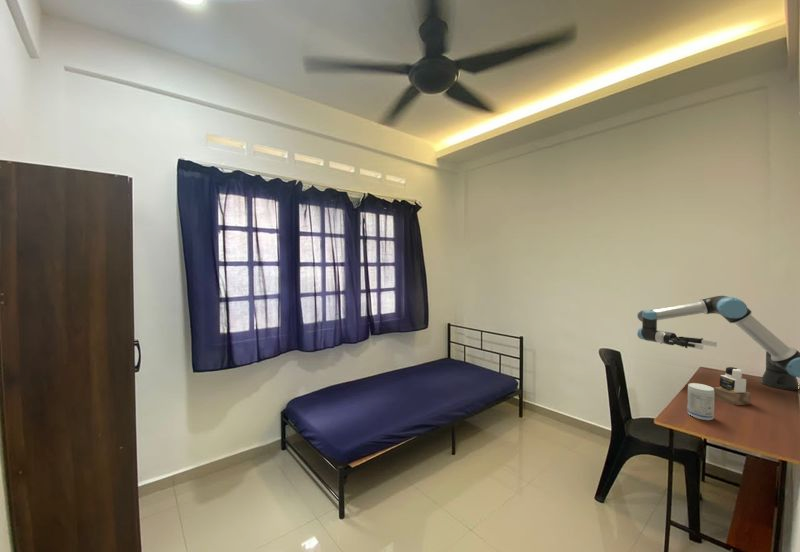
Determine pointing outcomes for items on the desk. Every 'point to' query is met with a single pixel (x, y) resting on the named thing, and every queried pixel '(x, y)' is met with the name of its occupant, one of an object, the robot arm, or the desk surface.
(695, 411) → the supplement tub
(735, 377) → the medicine bottle
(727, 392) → the walnut block
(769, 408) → the desk surface
